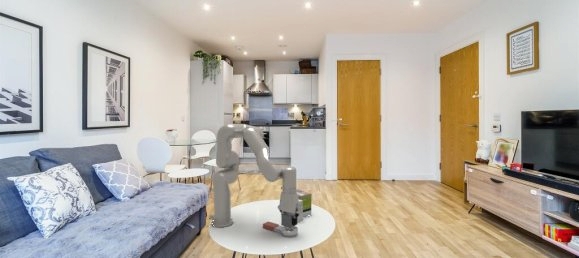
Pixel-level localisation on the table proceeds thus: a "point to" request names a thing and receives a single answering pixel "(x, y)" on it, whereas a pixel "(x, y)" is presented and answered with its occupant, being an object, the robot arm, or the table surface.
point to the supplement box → (301, 209)
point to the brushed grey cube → (287, 220)
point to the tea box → (305, 201)
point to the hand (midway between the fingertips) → (289, 223)
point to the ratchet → (281, 229)
